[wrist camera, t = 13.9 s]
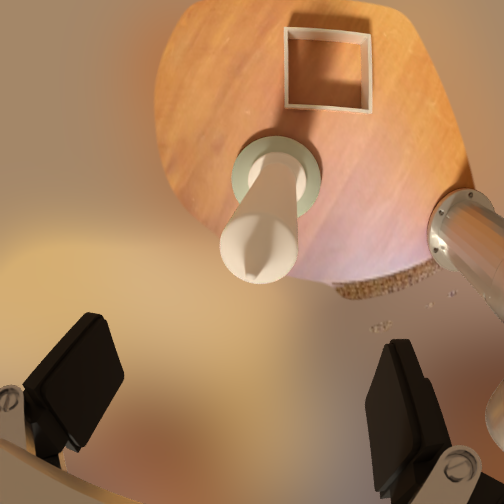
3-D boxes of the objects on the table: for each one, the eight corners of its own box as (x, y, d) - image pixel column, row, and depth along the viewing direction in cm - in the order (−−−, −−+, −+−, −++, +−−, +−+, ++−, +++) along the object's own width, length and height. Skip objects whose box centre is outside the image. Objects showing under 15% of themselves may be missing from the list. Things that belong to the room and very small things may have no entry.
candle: (257, 144, 36) (193, 184, 13) (313, 161, 36) (349, 232, 13) (242, 198, 39) (170, 312, 16) (296, 214, 39) (296, 350, 16)
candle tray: (363, 42, 30) (370, 34, 26) (364, 114, 34) (372, 113, 30) (284, 36, 31) (283, 27, 27) (285, 109, 35) (284, 107, 31)
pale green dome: (335, 162, 37) (336, 164, 35) (293, 234, 41) (293, 237, 40) (257, 120, 36) (256, 120, 35) (219, 195, 40) (217, 197, 39)
